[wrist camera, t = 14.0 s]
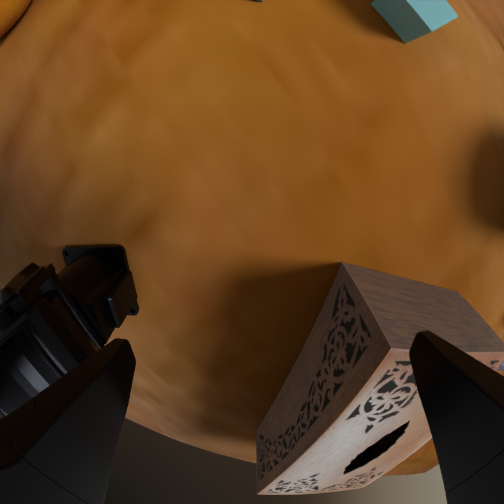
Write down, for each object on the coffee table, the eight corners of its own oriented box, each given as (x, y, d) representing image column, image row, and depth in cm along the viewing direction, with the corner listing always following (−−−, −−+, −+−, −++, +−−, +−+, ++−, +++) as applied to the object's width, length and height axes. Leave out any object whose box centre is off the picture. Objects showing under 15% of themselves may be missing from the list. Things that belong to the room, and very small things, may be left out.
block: (404, 43, 14) (432, 31, 10) (369, 4, 12) (391, -16, 9) (430, 27, 13) (458, 16, 9) (399, -10, 11) (422, -27, 8)
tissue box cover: (340, 260, 21) (391, 347, 12) (456, 290, 23) (510, 351, 13) (256, 429, 31) (256, 494, 22) (350, 432, 33) (363, 487, 24)
